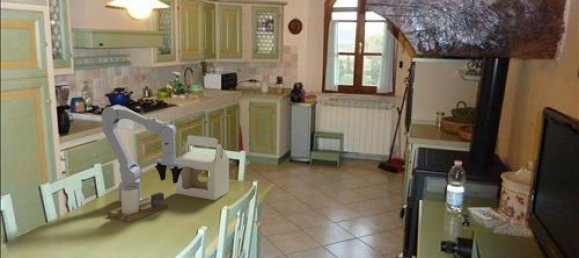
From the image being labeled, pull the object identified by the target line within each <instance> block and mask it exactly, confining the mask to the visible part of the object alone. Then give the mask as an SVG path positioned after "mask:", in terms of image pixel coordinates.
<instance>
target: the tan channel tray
mask: <svg viewBox="0 0 579 258" xmlns="http://www.w3.org/2000/svg"><path fill="white" fill-rule="evenodd" d="M138 206H139V211H138V212H135V213H132V214H130V215H126V214H122V206H120V207H117V208H114V209H111V210H108V211H107V215H108V217H110V218H113V219H116V220H120V221H122V222H126V223H131V222H133V221H136V220H139V219H141V218H143V217H146V216H149V215H152V214H154V213H157V212H158V211H162V210H164V209H167V208H168V202H165V193H164V192H160V191H159V192H156V193H154V194H151V195H150V197H145V198H144V199H142V200H140V201H138Z"/></svg>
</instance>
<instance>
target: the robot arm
mask: <svg viewBox="0 0 579 258" xmlns="http://www.w3.org/2000/svg"><path fill="white" fill-rule="evenodd" d="M100 114H101V115H100V118H101V129H102V131H103V134H104V135H105V137H106V140H107V142H108V144H109V145H110V146H109V147H110V148H111V149H112V150H111V151H112V152H113V153H114V156H115V158H116V160H117V162H118V164H119V169H118V170H119V172H120V179H121V181H120V183H119V184H118V199H117V202H120V203H122V196H121V192H122V190H123V189H122V188H123V187H126V186H135V187H137V190H138V201H140V200H142V199H145V198H144V197H143V198H142V196H141V194H142V193H141V191H142V190H141V179H140V177H142V174H143V171H142V170H143V169H142V168H141V166H139V165H138V164H137V163H136V161H135V160H134V159H132V158H131V156H130V154H129V152H128V150H127V147H126V146H125V144H124V142H123V139H122V138H121V135H120V134H119V132H118V129H117V127H118V124H119V121H121V120H125V119H127V120H130V121H132V122H135V123H138V124H140V125H143V126H144V128H145V129H146V131H147V130H148V131H150V132H152V133H154V134H156V135H159V136H160V138H161V158H156V159H155V166H154V168H155V169H156V171H157V172H158V175H159V178H160V181H165V180H166V177H167V176H166V173H167V167H172V168H170V172H171V175H172V183H173V184H176V183H178V179H179V175H180V173H181V171H182V169H183V164H182V163H179V162H177V161H176V137H175V136H176V134H177V128H176V126H175V125H174V124H173V123H167V122H166V121H165V122H163V121H161V120H158V118H157V117H155V116H154V117H152V116H151V117H145V116H143V115H141V114H140V113H138V112H135V111H134V110H132V109H130V108H128V107H126V106H122V105H121V104H115V105H112V106H107V107H105V108H103V111H102V112H101V113H100Z"/></svg>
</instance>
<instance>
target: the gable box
mask: <svg viewBox="0 0 579 258" xmlns="http://www.w3.org/2000/svg"><path fill="white" fill-rule="evenodd" d="M219 141H220V140H219V139H218V138H217V137H209V136H203V135H194V134H189V135H187V139H186V140H183V142H182V145H181V147H180V150H179V151H178V153H177V155H176V156H175V161H177V162H179V163H182V164H183V169H182V171H181V173H180V175H179V179H178V183H175V194H176V195H177V194H178V195H182V194H183V195H184V196H189V197H194V198H200V199H207V200H211V201H216V200H217V199H220V198H221V197H223V196H225V195H227V194H228V193H230V158H229V156H228V154H227V152H226V151H225V150H224V148H223V144H220V143H219ZM192 145H193V146H200V147H201V146H202V147H209V148H215V155H214V154H208V153H200V152H199V153H198V152H193V151H192V149H191V146H192ZM199 170H204V171H207V172H208V173H209V176H208V179H207V180H206V181H201V180H199V178H198V177H199ZM183 195H182V196H183Z"/></svg>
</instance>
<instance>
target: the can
mask: <svg viewBox="0 0 579 258" xmlns="http://www.w3.org/2000/svg"><path fill="white" fill-rule="evenodd" d="M122 189H123V190H122V192H121V196H122V202H121V207H122V214H126V215H130V214H132V213H135V212H138V211H139V206H138V190H137V187H135V186H126V187H123V188H122Z"/></svg>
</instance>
